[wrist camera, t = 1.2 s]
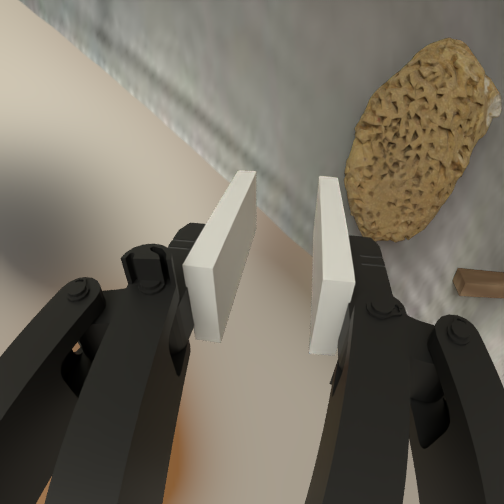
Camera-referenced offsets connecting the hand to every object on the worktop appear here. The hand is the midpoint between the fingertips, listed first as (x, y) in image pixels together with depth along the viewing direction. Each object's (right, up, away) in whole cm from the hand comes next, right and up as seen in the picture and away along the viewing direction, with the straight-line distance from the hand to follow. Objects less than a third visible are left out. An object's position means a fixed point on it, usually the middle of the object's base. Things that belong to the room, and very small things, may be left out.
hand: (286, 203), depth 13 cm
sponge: (+14, +9, +14) cm, 22 cm away
